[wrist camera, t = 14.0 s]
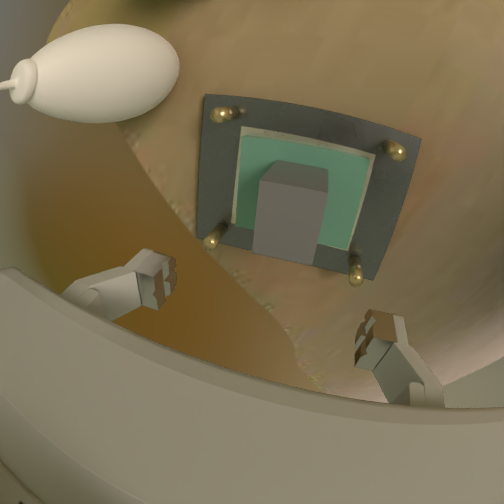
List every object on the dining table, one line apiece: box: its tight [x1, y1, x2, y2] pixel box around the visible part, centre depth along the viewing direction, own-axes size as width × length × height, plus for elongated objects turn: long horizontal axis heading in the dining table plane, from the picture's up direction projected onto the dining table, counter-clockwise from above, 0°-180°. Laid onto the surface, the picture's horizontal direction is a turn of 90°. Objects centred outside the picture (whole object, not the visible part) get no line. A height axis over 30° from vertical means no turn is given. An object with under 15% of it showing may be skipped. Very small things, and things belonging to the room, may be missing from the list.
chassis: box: [197, 94, 421, 287], centre depth 22 cm, size 18×14×4 cm
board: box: [235, 135, 370, 266], centre depth 20 cm, size 10×8×7 cm
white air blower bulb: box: [0, 24, 180, 123], centre depth 13 cm, size 8×8×18 cm
